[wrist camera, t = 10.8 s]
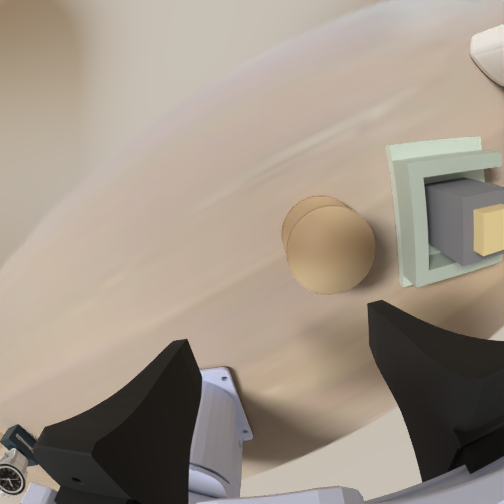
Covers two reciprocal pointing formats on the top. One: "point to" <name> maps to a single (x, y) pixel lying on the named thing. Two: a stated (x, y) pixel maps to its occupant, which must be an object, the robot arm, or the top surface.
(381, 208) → the top surface
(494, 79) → the eye dropper bottle
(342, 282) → the spool
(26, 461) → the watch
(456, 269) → the notched board
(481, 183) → the plug
